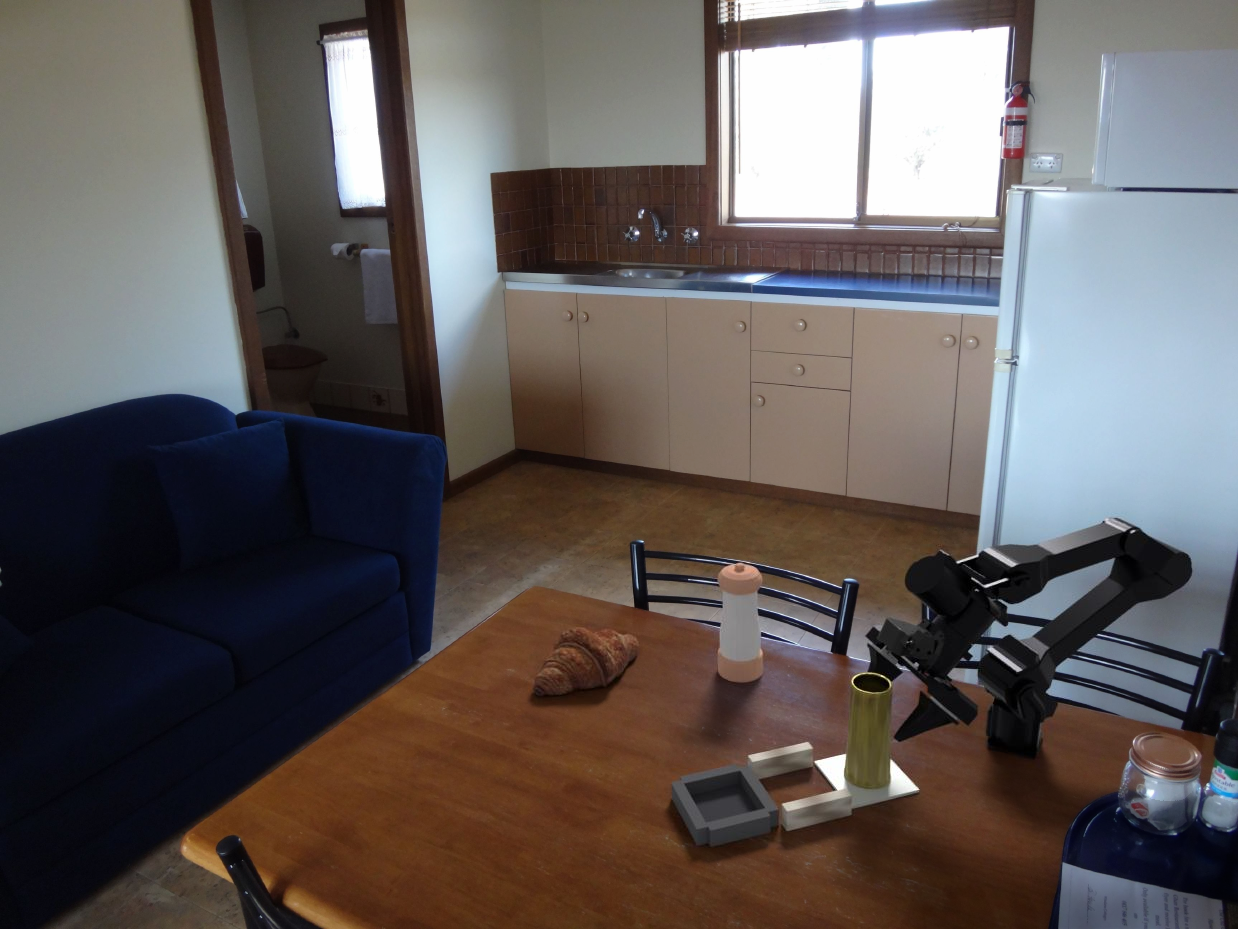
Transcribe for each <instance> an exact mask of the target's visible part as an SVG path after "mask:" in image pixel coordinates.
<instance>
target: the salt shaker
mask: <svg viewBox="0 0 1238 929" xmlns="http://www.w3.org/2000/svg"><path fill="white" fill-rule="evenodd" d="M717 583H718V585H719V587H720V589H721V590H722V615H721V621H720V628H719V634H718V635H719V648H718V650H717V672H718V674H719V676H720V677H721V678H723V679H724V680H726V681H729V682H732V683H733V682H734V683H750V682H753V681H756V680H758V679H759V678H761V676H762V675H763V671H764V670H763V668H764V662H763V660H764V656H763V655H764V653H763V650H762V648H761V643H762V642H761V640H762V636H761V635H762V630H761V625H760V620H759V612H758V591H759V589H760V588H761V587H762V585H763V576H762V574H761V573H760V571H759V570H758V569H757V567H755V566H752V565H750V564H745V563H743V562H738V563H735V564H730V565H727V566H725V567H723V568H722V569H721V571H720V572H719V573H718V576H717Z"/></svg>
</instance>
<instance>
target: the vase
mask: <svg viewBox="0 0 1238 929" xmlns="http://www.w3.org/2000/svg"><path fill="white" fill-rule="evenodd" d="M892 704H893V684H892V682H891V681H890V680H889V679H888V678H886V677H885V676H883V675H880V674H876V673H868V672H861V673H858V674H856V675H854V676H853V677H852V678H851V679H850V701H849V715H848V730H847V740H846V742H847V743H846V749H845V750H846V751H845V754H846V760H845V768H844V774H845V776H846V778H847V779H848V780H849V781H850V782H851V783H853V784H854V785H856V786H859V787H863V788H868V789H875V788H880V787H883V786H885V785H886V784H887V783H888V782H889V781H890V779H891V773H890V763H891V760H892V759H891V758H892V757H891V755H892V754H891V748H892V747H891V746H892V745H891V743H892V742H891V739H892V735H891V734H892V731H891V730H892V706H893V705H892Z"/></svg>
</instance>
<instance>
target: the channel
mask: <svg viewBox="0 0 1238 929" xmlns="http://www.w3.org/2000/svg"><path fill="white" fill-rule="evenodd" d="M813 764H814V747H813V745H811V744H810V742H809V741H806V742H802V743H798V744H794V745H793V744H792V745H789V746H788V745H787V746H785V747H780V748H775V749H770V750H767V751H762V752H757V753H753V754H748V755H747V765H749V767H750V768H751V769H752V771H753V772H754V774H755V775H756V777H757V778H758V780H762V779H766V778H769V777H770V778H771V777H773V776H778V775H783V774H786V773H787V774H788V773H791V772H796V771H799V770H804V769H808V768H813ZM852 810H853V809H852V795H851V794H850V792H849V791H848V790H847V789H846V788H845V789H841V790H837V791H836V790H833V791H829V792H826V793H821V794H816V795H813V796H808V797H805V798H800V799H796V800H791V801H788V802H783V803H781V825H782V826H783V828H784V829H785V831H786V832H791V831H792V830H798V829H802V828H805V827H809V826H813V825H818V824H821V823H824V822H825V823H826V822H830V821H833V820H837V819H841V818H845V817H849V816H852Z"/></svg>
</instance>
